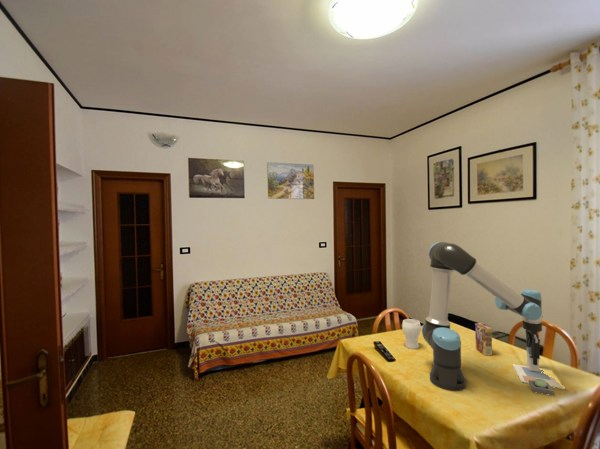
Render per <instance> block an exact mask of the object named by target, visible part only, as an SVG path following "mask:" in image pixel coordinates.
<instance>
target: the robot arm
mask: <svg viewBox="0 0 600 449" xmlns="http://www.w3.org/2000/svg"><path fill="white" fill-rule="evenodd" d="M428 258H429V259H430V266H429V267H430V268H431V270H432V279H431V280H432V281H431V290H430V301H429V302H430V303H429V312H428V313H429V314H428V316H427V317H425V321H424V323H423V324H422V326H421V333H422V336H423V339H424V341H425V342H426V343H427V344H428V345H429V346H430V348H431V350H432V354H433V355H432V356H433V357H432V358H433V364H432V367H431V368H430V372H429V379H430V380H429V381H430V382H431V383H432V385H434V386H436V387H438V388H441V389H443V390H447V391H462V390H464V389H465V388H466V387H467V380H466V377H465V374H464V371H463V369H462V341H461V336H460V334H459V333H458V332H457V331H456V330H454V329H451V322H450V321H449V319H448V317H449V306H450V305H449V304H450V294H451V285H452V284H451V283H452V273H453V272H457V273H458V274H460V275H461V276H466V277H468V278H469V279H471V280H472V281H473V282H474V283H476V284H477V285H479V286H480V287H482V288H483V289H484V290H485V291H487V292H488V293H490V294H491V295H493V296H494V302H495V306H496V307H497V309H499V310H503V311H507V310H509V311H511V312H512V313H515V314H517V315H519V316H521V317H522V318H521V319H522V328H523V329H524V330H525V341H526V350H527V347H531V356H530V358H531V371H536V372H538V359H539V360H540V359H541V357H540V354H541V352H540V351H541V350H540V342H541V340H540V339H539V334H538V332H542V331H543V324H542V322H543V319H542V318H544V317H543V315H542V314H543V310H542V301H543V300H542V293H541V292H540V291H539V290H535V289H529V288H528V289H522V290H521V293H519V292H518V291H516V290H515V289H514V288H512V287H511V286H509V285H508V284H507V283H506V282H504V281H502V280H501V279H500V278H498V277H497V276H496V275H494V274H493V273H492V272H491V271H489V270H488V269H486V268H485V267H484V266H482V265H481V264H480V263H478V261H477V260H478V259H476V258H475V257H474V256H473V255H471V254H470V253H469V252H467V251H466V250H465V249H464V248H462V247H461V246H460V245H458V244H456V243H451V242H447V241H438V242H436V243H433V244H432V245H431V247H430V248H429V249H428Z"/></svg>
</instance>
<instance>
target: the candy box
mask: <svg viewBox="0 0 600 449" xmlns="http://www.w3.org/2000/svg"><path fill="white" fill-rule="evenodd" d="M474 325H475V326H474V327H475V328H474V330H475V333H474V334H475V350H476V351H477V352H479V353H481V355H482V354H483V355H484V356H490V355H491V356H493V332H492V331H493V330H492V327H491V326H487V325H486V324H483V323H482V322H476V323H474Z"/></svg>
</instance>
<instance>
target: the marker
mask: <svg viewBox="0 0 600 449" xmlns="http://www.w3.org/2000/svg"><path fill="white" fill-rule="evenodd" d="M530 356H531V347H527V349H526V366H527V368H528V369H529V370H530V371H531V358H530ZM539 368H540V359H538V372H539Z"/></svg>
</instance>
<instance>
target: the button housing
mask: <svg viewBox="0 0 600 449" xmlns="http://www.w3.org/2000/svg"><path fill="white" fill-rule="evenodd" d="M546 384H547V389H546V388H540V387H536V386H535V381H533V380H529V384H528V385H530V386H529V388H530V389H531V391H532V390H533V391H532V392H533V393H535V392H537V393H536V394H540V393H543V394H542V395H546V394H549V395H548V396H552V395H555V392H554V388H552V387H550V385H549V384H548V383H546Z"/></svg>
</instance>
